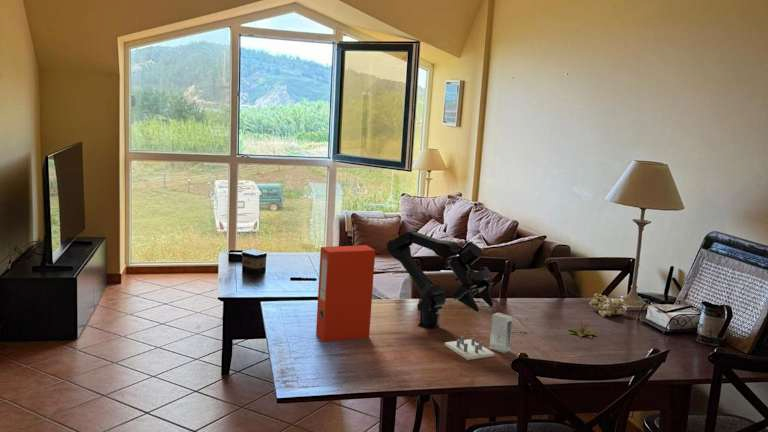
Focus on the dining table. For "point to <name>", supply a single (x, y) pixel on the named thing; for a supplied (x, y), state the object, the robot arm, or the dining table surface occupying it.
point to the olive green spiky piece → (583, 331)
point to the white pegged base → (469, 348)
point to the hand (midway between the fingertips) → (485, 308)
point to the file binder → (345, 292)
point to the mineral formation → (607, 305)
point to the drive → (501, 332)
